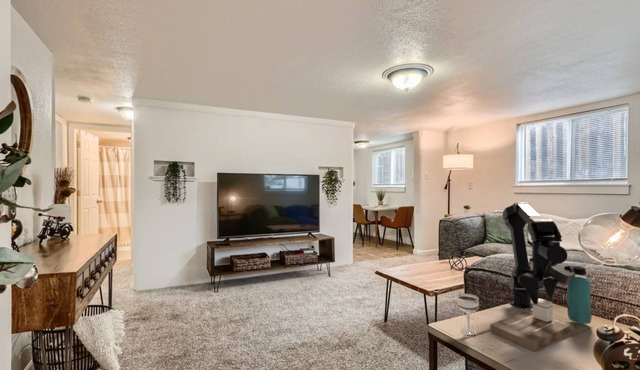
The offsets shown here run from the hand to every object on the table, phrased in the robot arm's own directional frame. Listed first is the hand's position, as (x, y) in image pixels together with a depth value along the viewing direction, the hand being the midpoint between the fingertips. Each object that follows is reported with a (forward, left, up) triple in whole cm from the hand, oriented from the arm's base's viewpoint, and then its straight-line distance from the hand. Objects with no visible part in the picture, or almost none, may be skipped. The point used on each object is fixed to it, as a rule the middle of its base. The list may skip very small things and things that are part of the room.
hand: (542, 300), depth 109 cm
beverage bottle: (-12, +5, -9) cm, 16 cm away
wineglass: (+25, -11, -9) cm, 29 cm away
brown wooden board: (+7, 0, -9) cm, 11 cm away
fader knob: (0, 0, -6) cm, 6 cm away
